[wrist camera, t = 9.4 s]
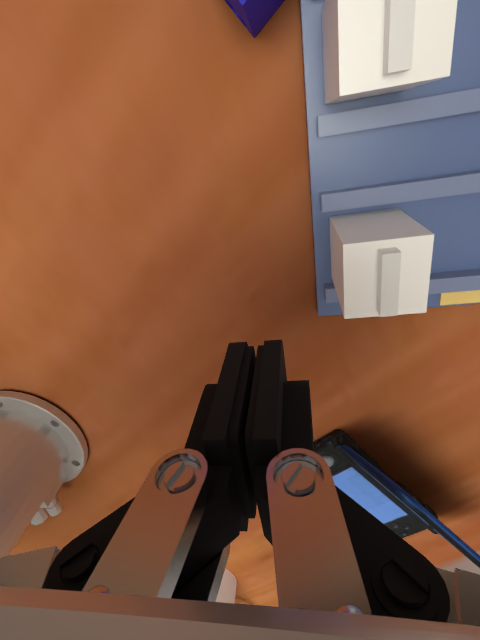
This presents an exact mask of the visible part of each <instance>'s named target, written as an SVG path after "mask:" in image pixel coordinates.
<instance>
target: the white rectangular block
mask: <svg viewBox="0 0 480 640" xmlns="http://www.w3.org/2000/svg"><path fill="white" fill-rule="evenodd" d="M329 219H330V248H331V277H332V280H333V283H334V287H335V290H336V293H337V296H338V300H339V303H340V306H341V310H342V313H343V316H344V319H350V318H363V317H376V316H380V317H386V316H397V315H402V314H415V313H426V310H427V301H428V291H429V281H430V272H431V262H432V252H433V243H434V234H433V233H432V232H430V231H429V230H428V229H426V228H425V227H424V226H422V225H421V224H419V223H418V222H417V221H415V220H414V219H412V218H411V217H410V216H408V215H407V214H406V213H404V212H403V211H401V210H400V209H399V208H393V209H385V210H377V211H369V212H361V213H353V214H345V215H338V216H330V217H329Z"/></svg>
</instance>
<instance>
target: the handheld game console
mask: <svg viewBox="0 0 480 640" xmlns="http://www.w3.org/2000/svg"><path fill="white" fill-rule="evenodd" d="M314 452H315V453H317V454H319V455H320V456H321V457H322V458H323V459H324V460H325V461H326V462H327V464H328V466H329V468H330V470H331V474H332V477H333V481H334V484H335V485H336V486H337V487H338V488H339V489H341V490H342V491H343V492H344V493H346V494H347V495H348V496H349V497H351V498H352V499H353V500H354V501H356V502H357V503H358V504H359V505H361V506H362V507H363V508H364V509H366V510H367V511H368V512H369V513H371V514H372V515H373V516H374V517H376V518H377V519H378V520H379V521H381V522H382V523H383V524H384V525H386V526H387V527H388V528H389V529H391V530H392V531H393V532H394V533H396V534H397V535H398V536H399V537H401V538H404V537H407V536H409V535H412V534H415V533H417V532H420V531H423V530H425V529H429V530H430V531H431V532H433V533H434V534H438V533H439V534H440V535H441V536H442V537H443V538H445V539H446V540H447V541H448V542H450V543H451V544H452V545H453V546H454V547H455V548H457V549H458V550H459V551H460V552H461V553H463V554H464V555H465V556H466V557H467V558H468V559H470V560H471V561H472V562H473V563H474V564H476V565H477V566H478V567H479V568H480V556H479V555H478V554H477V553H476V552H475V551H474V550H473V549H471V548H470V547H469V546H468V545H467V544H466V543H465V542H463V541H462V540H461V539H460V538H459V537H458V536H457V535H455V534H454V533H453V532H452V531H451V530H450V529H449V528H447V527H446V526H445V525H444V524H443V523H442V522H440V521H439V520H438V517H437V515H436V513H435V512H434V511H433V510H432V509H431V508H430V507H429V506H427V505H425V504H424V503H422V502H421V501H420V500H419V499H418V498H417V497H416V496H415V495H413V494H412V493H411V492H410V491H409V490H408V489H407V488H405V487H404V486H403V485H402V484H401V483H398V482H396V481H395V480H393V479H392V478H391V477H390V476H389V475H387V474H386V473H385V472H384V471H383V470H382V469H381V467H380V466H379V465H378V463H377V462H376V461H375V460H374V459H372V458H371V457H370V456H369V455H368V454H367V453H366V452H365V451H363V450H362V449H361V448H360V447H359V446H358V445H357V444H355V443H354V442H353V440H352V439H351V438H350V437H349V436H348V435H347V434H346V433H344V432H343V431H341V430H337V431H334V432H333V435H330V436H328V437H326V438H325V439H323V440H321V441H319V442H317V443H316V444H314Z"/></svg>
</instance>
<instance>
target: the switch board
mask: <svg viewBox="0 0 480 640" xmlns="http://www.w3.org/2000/svg"><path fill="white" fill-rule="evenodd" d="M324 1H325V0H300V15H301V33H302V50H303V68H304V85H305V103H306V120H307V138H308V155H309V173H310V190H311V208H312V225H313V243H314V260H315V278H316V295H317V311H318V316H329V315H342V314H343V313H342V310H341V306H340V303H339V300H338V296H337V293H336V290H335V287H334V283H333V280H332V277H331V248H330V219H329V217H330V216H338V215H345V214H353V213H361V212H369V211H377V210H385V209H393V208H399V209H400V210H401V211H403V212H404V213H406V214H407V215H408V216H410V217H411V218H412V219H414V220H415V221H417V222H418V223H419V224H421V225H422V226H424V227H425V228H426V229H428V230H429V231H430V232H432V233H433V234H434V243H433V252H432V262H431V272H430V281H429V291H428V301H427V308H430V307H442V306H455V305H467V304H480V0H458V1H457V11H456V21H455V31H454V40H453V50H452V60H451V70H450V76H448V77H445V78H442V79H439V80H435V81H432V82H429V83H426V84H423V85H420V86H416V87H413V88H410V89H407V90H404V91H398V92H393V93H387V94H382V95H376V96H371V97H365V98H360V99H354V100H349V101H343V102H338V103H332V104H327V105H325V92H324V64H323V36H322V7H323V4H324Z"/></svg>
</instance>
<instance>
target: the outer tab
mask: <svg viewBox="0 0 480 640" xmlns="http://www.w3.org/2000/svg"><path fill="white" fill-rule="evenodd" d="M457 1H458V0H325V1H324V4H323V7H322V36H323V64H324V92H325V105H327V104H332V103H338V102H343V101H349V100H354V99H360V98H365V97H371V96H376V95H382V94H387V93H393V92H398V91H404V90H407V89H410V88H413V87H416V86H420V85H423V84H426V83H429V82H432V81H435V80H439V79H442V78H445V77H448V76H450V70H451V60H452V50H453V40H454V31H455V21H456V11H457Z"/></svg>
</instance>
